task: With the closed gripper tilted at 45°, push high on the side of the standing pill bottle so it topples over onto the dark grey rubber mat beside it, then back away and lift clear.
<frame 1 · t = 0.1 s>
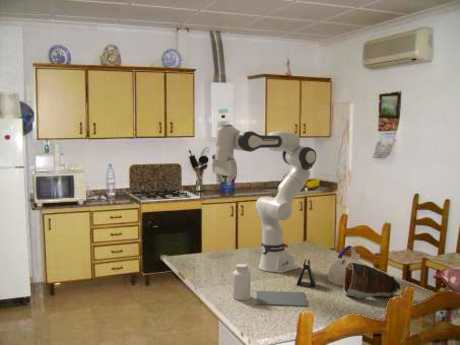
hand: (224, 184, 235), 48 cm above the table, tool pointing down, fingers open, 8 cm apart
pill bottle: (241, 298, 209), on the table
phone stand: (306, 285, 228), on the table
kettle: (347, 280, 237), on the table
mat: (281, 298, 208), on the table
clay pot: (372, 296, 215), on the table
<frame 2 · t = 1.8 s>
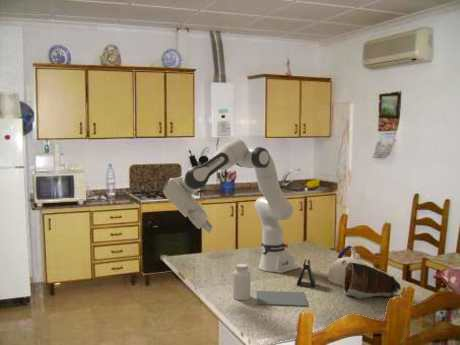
hand: (210, 229, 212), 29 cm above the table, tool tilted 45°, fingers open, 5 cm apart
nothing on the table moved.
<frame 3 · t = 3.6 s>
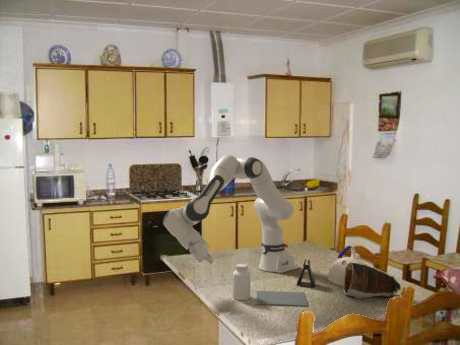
hand: (212, 262, 208), 16 cm above the table, tool tilted 45°, fingers closed
nothing on the table moved.
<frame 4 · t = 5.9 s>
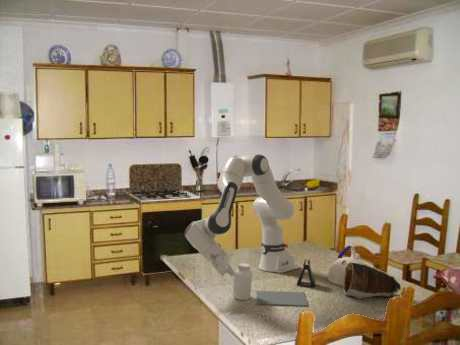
hand: (233, 274, 208), 11 cm above the table, tool tilted 45°, fingers closed, pressing on pill bottle
pill bottle: (241, 297, 209), on the table, touching gripper
everything else where it was.
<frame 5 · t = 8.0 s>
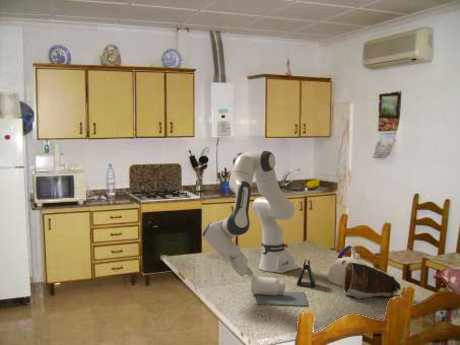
hand: (252, 275, 207), 10 cm above the table, tool tilted 45°, fingers closed
pill bottle: (251, 284, 213), point 5 cm above the table, touching mat
everything else where it was.
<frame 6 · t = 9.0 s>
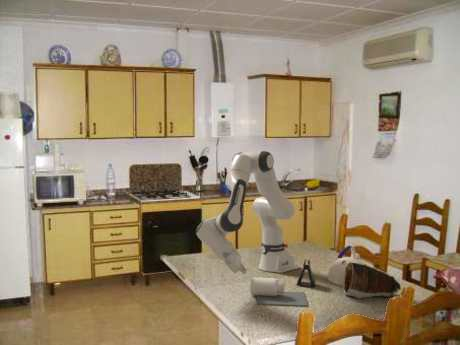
hand: (245, 272, 207), 12 cm above the table, tool tilted 45°, fingers closed
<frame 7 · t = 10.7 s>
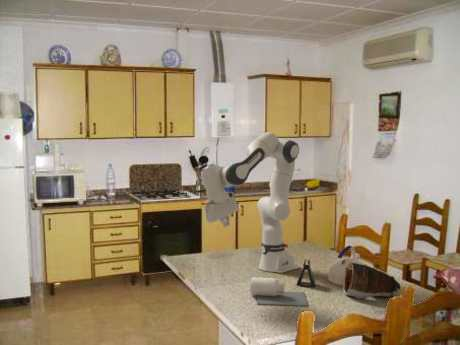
hand: (227, 226, 217), 30 cm above the table, tool tilted 20°, fingers closed
nothing on the table moved.
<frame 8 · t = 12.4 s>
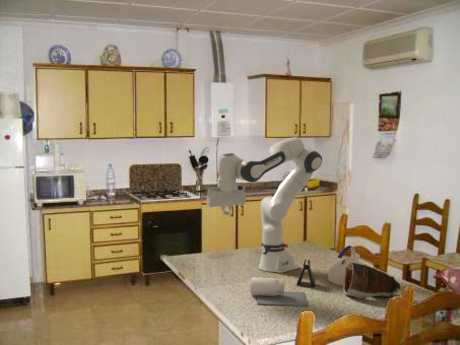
hand: (226, 214, 225), 34 cm above the table, tool pointing down, fingers closed
nothing on the table moved.
at the end: pill bottle tilted 89°; pill bottle touching mat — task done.
